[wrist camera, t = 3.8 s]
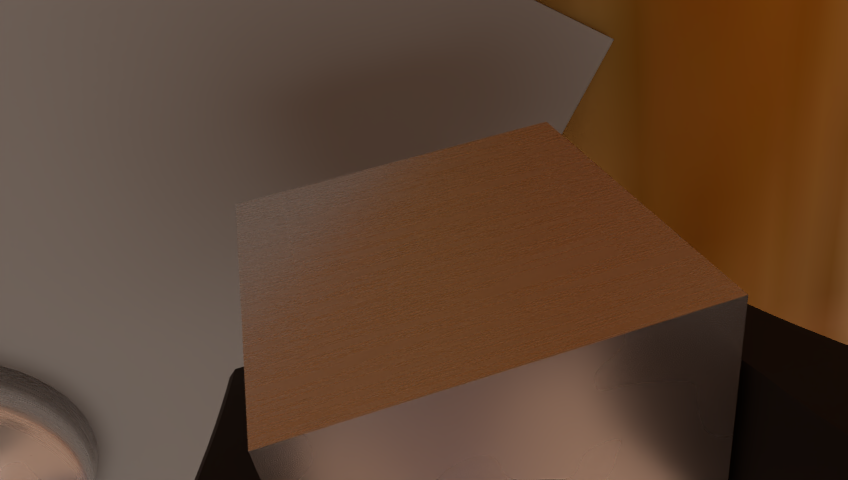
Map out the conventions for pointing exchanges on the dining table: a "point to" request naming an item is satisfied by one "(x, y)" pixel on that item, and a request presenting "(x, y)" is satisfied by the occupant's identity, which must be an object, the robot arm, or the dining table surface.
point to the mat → (218, 171)
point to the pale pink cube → (483, 325)
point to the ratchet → (42, 432)
